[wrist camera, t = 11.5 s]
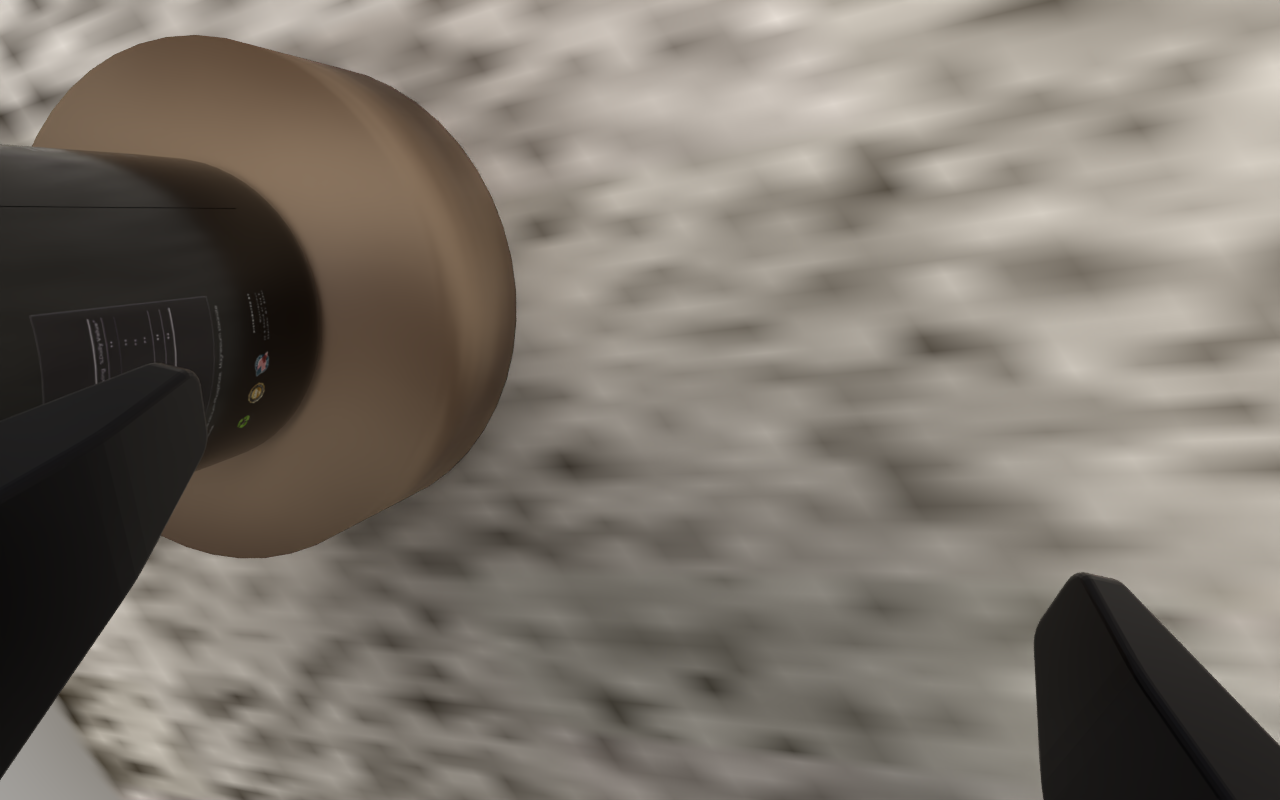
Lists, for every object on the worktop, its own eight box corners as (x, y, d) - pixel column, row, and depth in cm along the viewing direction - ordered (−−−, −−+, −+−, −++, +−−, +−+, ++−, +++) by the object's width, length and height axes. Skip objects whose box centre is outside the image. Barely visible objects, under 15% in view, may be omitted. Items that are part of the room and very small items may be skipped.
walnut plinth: (478, 563, 25) (396, 623, 21) (128, 444, 28) (2, 479, 24) (552, 108, 22) (473, 85, 18) (152, 32, 25) (13, -2, 21)
